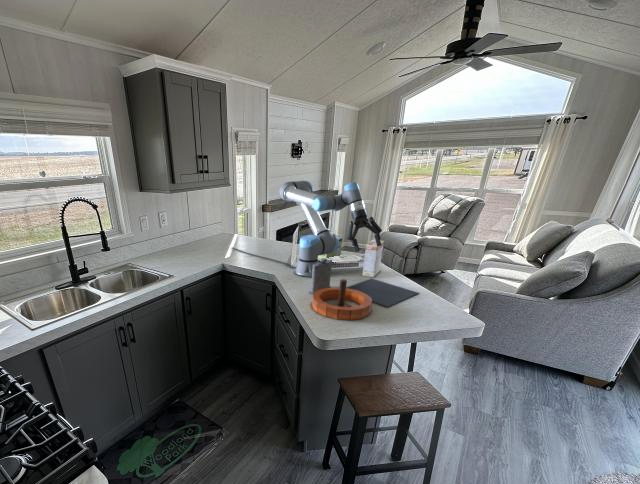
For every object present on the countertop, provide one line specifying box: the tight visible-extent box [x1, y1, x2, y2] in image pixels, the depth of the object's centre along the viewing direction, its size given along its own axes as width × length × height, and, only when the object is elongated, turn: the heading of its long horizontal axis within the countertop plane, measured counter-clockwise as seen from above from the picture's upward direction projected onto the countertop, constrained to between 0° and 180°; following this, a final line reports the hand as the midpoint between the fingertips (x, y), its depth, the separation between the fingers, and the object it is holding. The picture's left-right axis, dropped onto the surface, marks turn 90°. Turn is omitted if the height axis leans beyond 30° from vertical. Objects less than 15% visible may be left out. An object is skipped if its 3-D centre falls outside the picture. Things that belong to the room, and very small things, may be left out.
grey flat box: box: [310, 258, 333, 295], centre depth 177 cm, size 4×14×18 cm, turn 129°
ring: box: [312, 286, 373, 321], centre depth 159 cm, size 27×27×5 cm
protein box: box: [318, 237, 343, 258], centre depth 227 cm, size 10×16×16 cm
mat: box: [346, 278, 419, 308], centre depth 176 cm, size 28×28×1 cm
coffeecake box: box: [362, 238, 385, 278], centre depth 199 cm, size 15×7×20 cm, turn 145°
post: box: [330, 278, 352, 307], centre depth 157 cm, size 7×7×14 cm
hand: (368, 248), depth 177 cm, fingers open, 13 cm apart
